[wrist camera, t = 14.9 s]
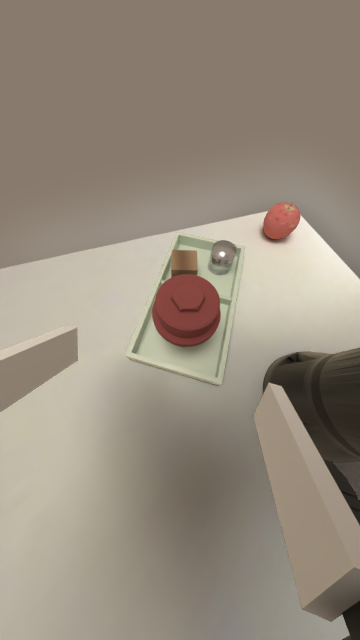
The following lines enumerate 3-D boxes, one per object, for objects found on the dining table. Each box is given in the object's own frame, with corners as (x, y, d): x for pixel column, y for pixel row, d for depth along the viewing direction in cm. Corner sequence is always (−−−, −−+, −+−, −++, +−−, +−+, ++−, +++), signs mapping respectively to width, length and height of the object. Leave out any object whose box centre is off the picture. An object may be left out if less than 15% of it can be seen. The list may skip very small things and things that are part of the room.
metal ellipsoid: (231, 261, 39) (238, 243, 34) (227, 277, 37) (235, 261, 32) (210, 256, 39) (214, 238, 35) (205, 272, 37) (209, 255, 33)
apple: (285, 227, 45) (306, 195, 37) (287, 247, 42) (310, 216, 34) (257, 223, 45) (273, 190, 38) (257, 243, 42) (274, 211, 35)
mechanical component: (148, 322, 32) (191, 299, 34) (175, 367, 29) (221, 338, 31) (133, 283, 21) (199, 253, 23) (174, 350, 18) (246, 307, 20)
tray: (240, 257, 40) (245, 246, 37) (217, 385, 28) (222, 384, 25) (176, 243, 42) (176, 232, 39) (129, 359, 30) (124, 355, 27)
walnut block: (194, 267, 38) (197, 250, 33) (195, 286, 36) (197, 270, 31) (172, 267, 38) (171, 249, 33) (171, 285, 36) (171, 269, 31)
